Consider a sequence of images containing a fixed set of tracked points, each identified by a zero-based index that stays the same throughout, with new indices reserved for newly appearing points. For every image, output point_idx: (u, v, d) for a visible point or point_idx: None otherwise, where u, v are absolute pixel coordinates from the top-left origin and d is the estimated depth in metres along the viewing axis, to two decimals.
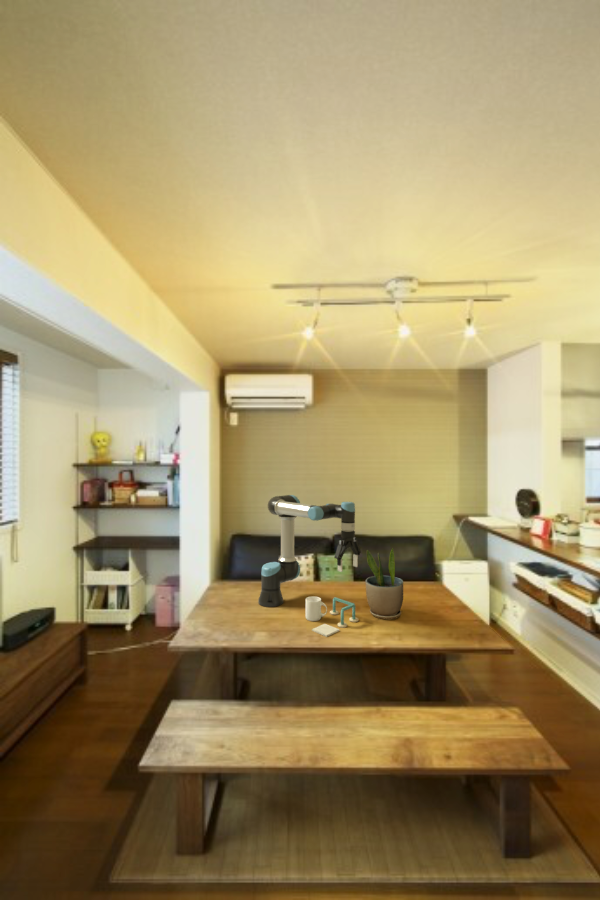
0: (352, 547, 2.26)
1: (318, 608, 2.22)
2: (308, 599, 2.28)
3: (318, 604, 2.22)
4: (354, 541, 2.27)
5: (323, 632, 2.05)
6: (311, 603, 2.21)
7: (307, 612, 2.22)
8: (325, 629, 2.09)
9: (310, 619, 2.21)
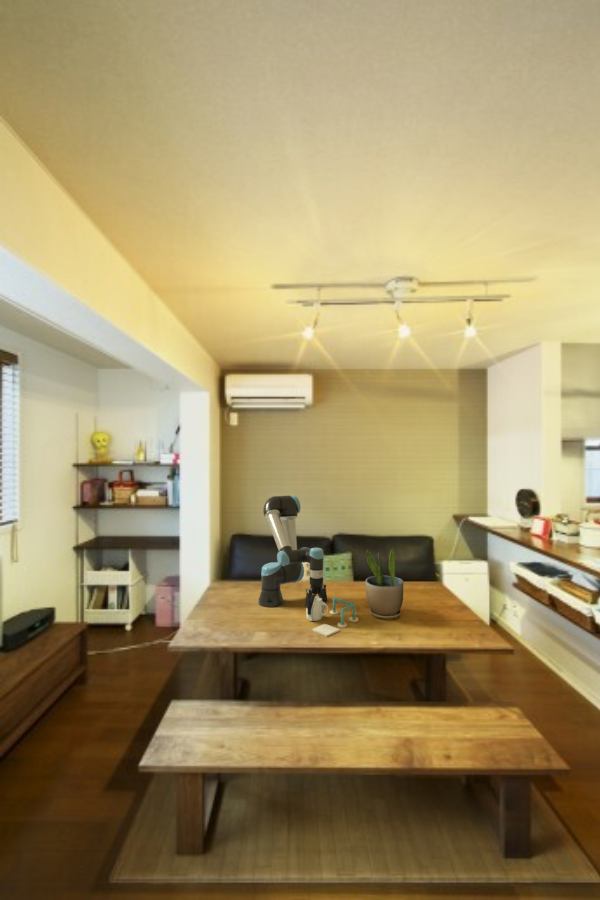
0: (319, 594, 2.26)
1: (319, 608, 2.22)
2: None
3: (319, 604, 2.22)
4: (322, 588, 2.28)
5: (323, 632, 2.05)
6: None
7: None
8: (325, 629, 2.09)
9: None
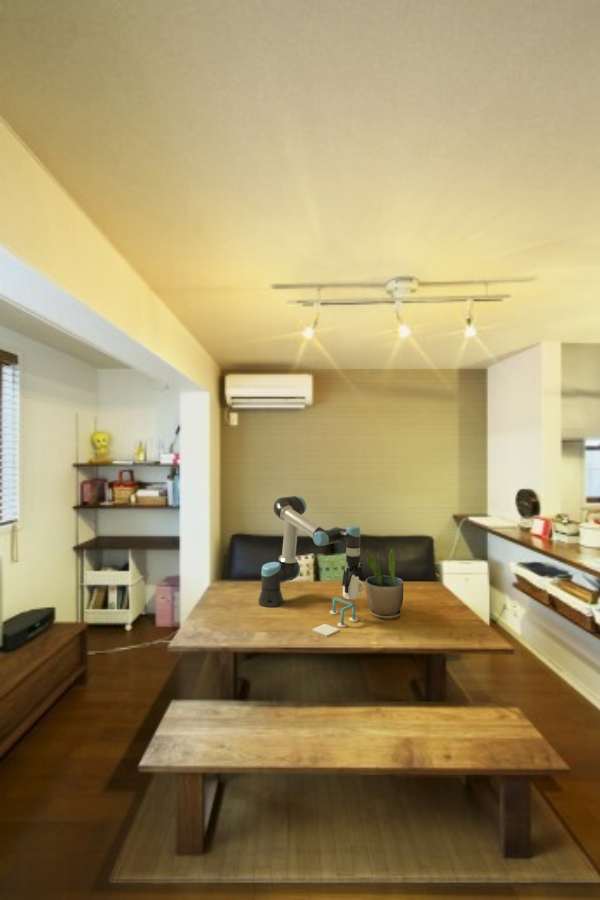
0: (356, 573, 2.24)
1: (356, 586, 2.20)
2: None
3: (356, 582, 2.20)
4: (359, 567, 2.25)
5: (323, 632, 2.05)
6: None
7: None
8: (325, 629, 2.09)
9: None
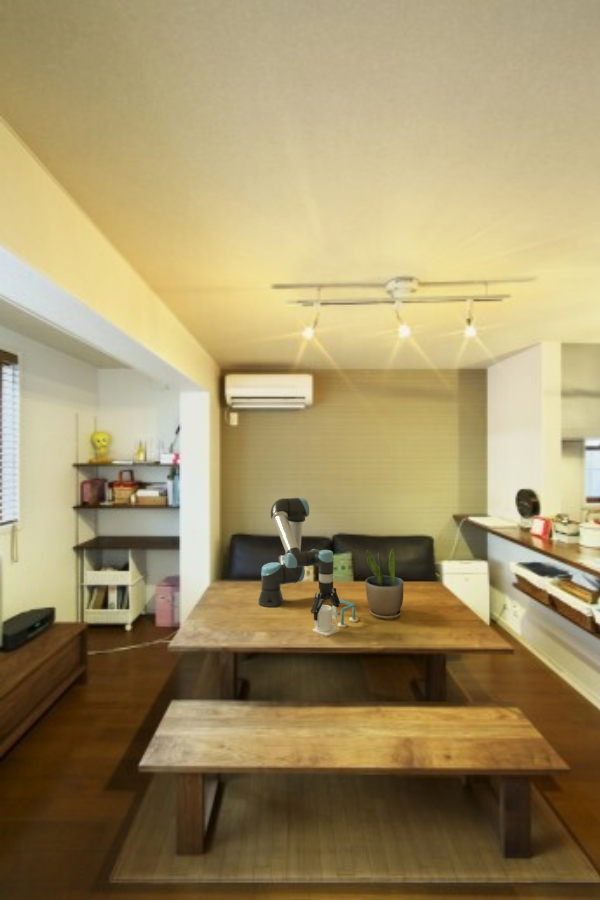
0: (330, 599, 2.11)
1: (329, 618, 2.06)
2: None
3: (329, 613, 2.06)
4: (333, 592, 2.13)
5: (323, 632, 2.05)
6: (321, 612, 2.06)
7: None
8: None
9: (320, 629, 2.06)
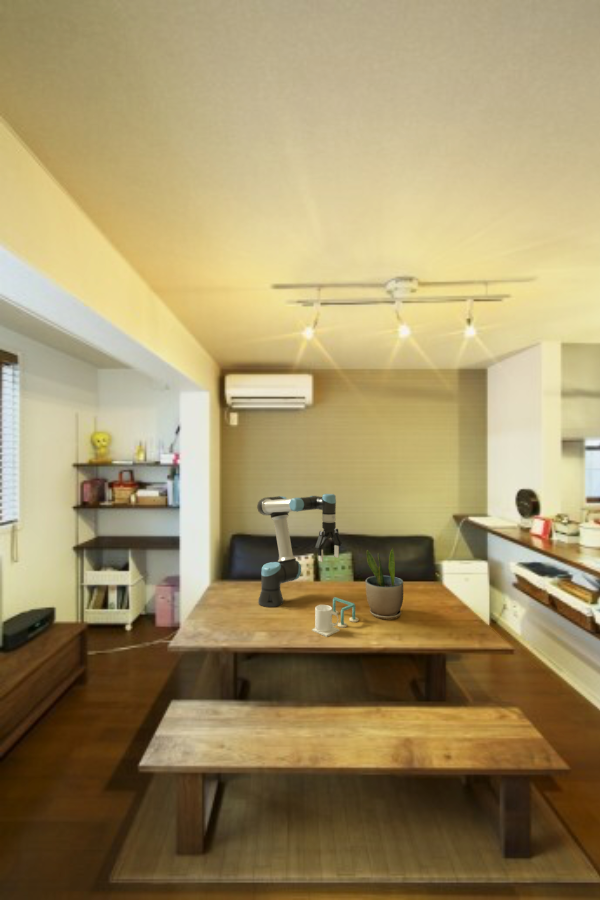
0: (333, 538, 2.32)
1: (329, 618, 2.06)
2: (318, 608, 2.13)
3: (329, 613, 2.06)
4: (335, 532, 2.33)
5: (323, 632, 2.05)
6: (321, 612, 2.06)
7: (317, 622, 2.07)
8: None
9: (320, 629, 2.06)
